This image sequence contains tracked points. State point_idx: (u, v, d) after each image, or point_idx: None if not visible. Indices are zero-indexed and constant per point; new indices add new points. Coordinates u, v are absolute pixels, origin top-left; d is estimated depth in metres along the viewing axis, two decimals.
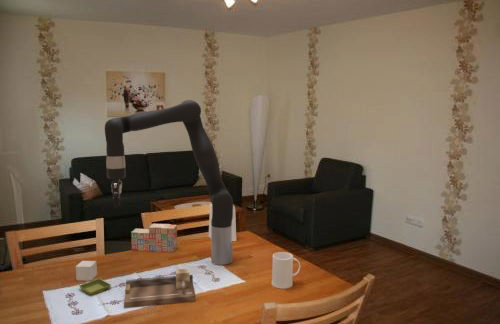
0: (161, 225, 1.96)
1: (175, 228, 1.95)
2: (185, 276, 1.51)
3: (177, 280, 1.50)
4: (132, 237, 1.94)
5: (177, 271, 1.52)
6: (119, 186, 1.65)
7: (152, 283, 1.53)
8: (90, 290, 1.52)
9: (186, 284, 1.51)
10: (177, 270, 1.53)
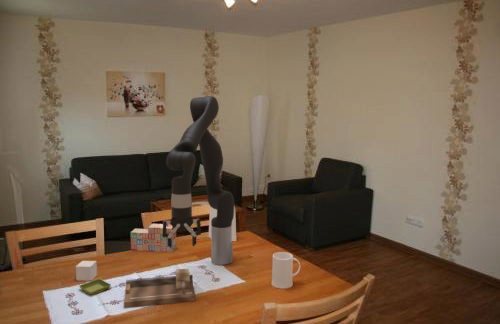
0: (160, 225, 1.95)
1: None
2: (185, 276, 1.51)
3: (177, 280, 1.50)
4: (131, 237, 1.94)
5: (177, 271, 1.52)
6: None
7: (152, 283, 1.53)
8: (90, 290, 1.52)
9: (186, 284, 1.51)
10: (177, 270, 1.53)
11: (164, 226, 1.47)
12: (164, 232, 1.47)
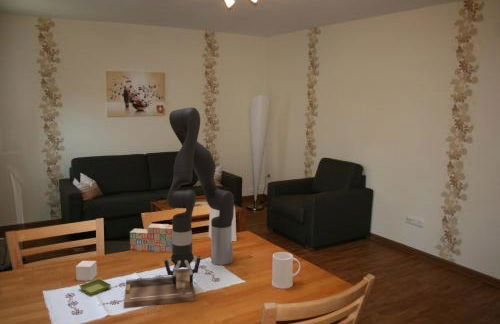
0: (160, 225, 1.95)
1: None
2: (185, 276, 1.51)
3: (177, 280, 1.50)
4: (131, 237, 1.94)
5: (177, 271, 1.52)
6: None
7: (152, 283, 1.53)
8: (90, 290, 1.52)
9: (186, 284, 1.51)
10: None
11: (166, 265, 1.49)
12: (168, 270, 1.50)
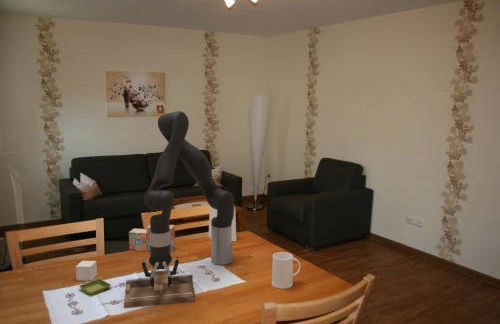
0: None
1: (173, 228, 1.95)
2: (163, 278, 1.49)
3: (155, 282, 1.48)
4: (130, 237, 1.94)
5: (155, 273, 1.50)
6: None
7: None
8: (90, 290, 1.52)
9: (164, 286, 1.49)
10: (155, 272, 1.51)
11: (144, 267, 1.47)
12: (146, 272, 1.48)
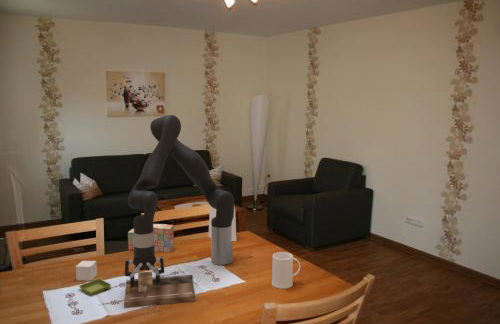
0: (158, 225, 1.95)
1: (172, 228, 1.95)
2: (148, 279, 1.48)
3: (139, 283, 1.47)
4: (129, 237, 1.94)
5: (139, 274, 1.49)
6: None
7: None
8: (90, 290, 1.52)
9: (149, 287, 1.48)
10: (140, 273, 1.50)
11: (126, 265, 1.46)
12: (126, 271, 1.46)
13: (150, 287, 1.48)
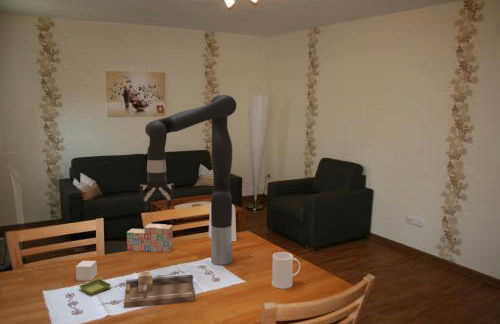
0: (157, 225, 1.95)
1: (171, 228, 1.95)
2: (148, 279, 1.48)
3: (139, 283, 1.47)
4: (128, 237, 1.94)
5: (139, 274, 1.49)
6: None
7: None
8: (90, 290, 1.52)
9: (149, 287, 1.48)
10: (140, 273, 1.50)
11: (140, 190, 1.61)
12: (141, 195, 1.61)
13: (150, 287, 1.48)
